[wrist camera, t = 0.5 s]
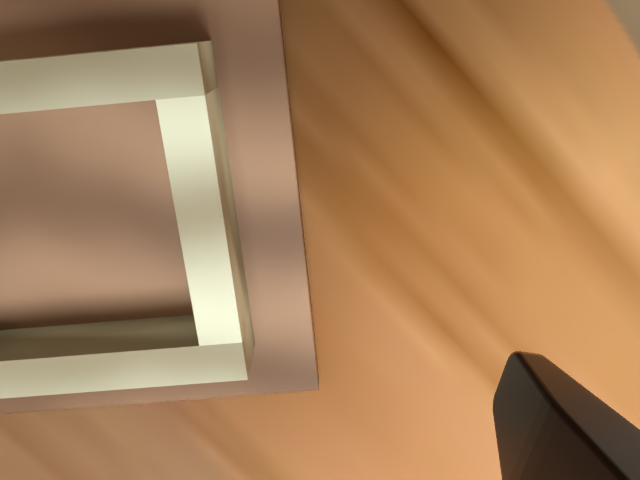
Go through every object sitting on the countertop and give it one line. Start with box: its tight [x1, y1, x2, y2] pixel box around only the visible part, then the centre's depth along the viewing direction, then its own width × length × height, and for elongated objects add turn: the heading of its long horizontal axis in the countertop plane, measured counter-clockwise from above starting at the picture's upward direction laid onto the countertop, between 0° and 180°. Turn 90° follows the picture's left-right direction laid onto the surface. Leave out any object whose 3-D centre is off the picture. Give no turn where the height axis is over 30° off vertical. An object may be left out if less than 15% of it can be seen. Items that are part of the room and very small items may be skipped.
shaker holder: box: [0, 0, 319, 414], centre depth 21 cm, size 16×16×3 cm
